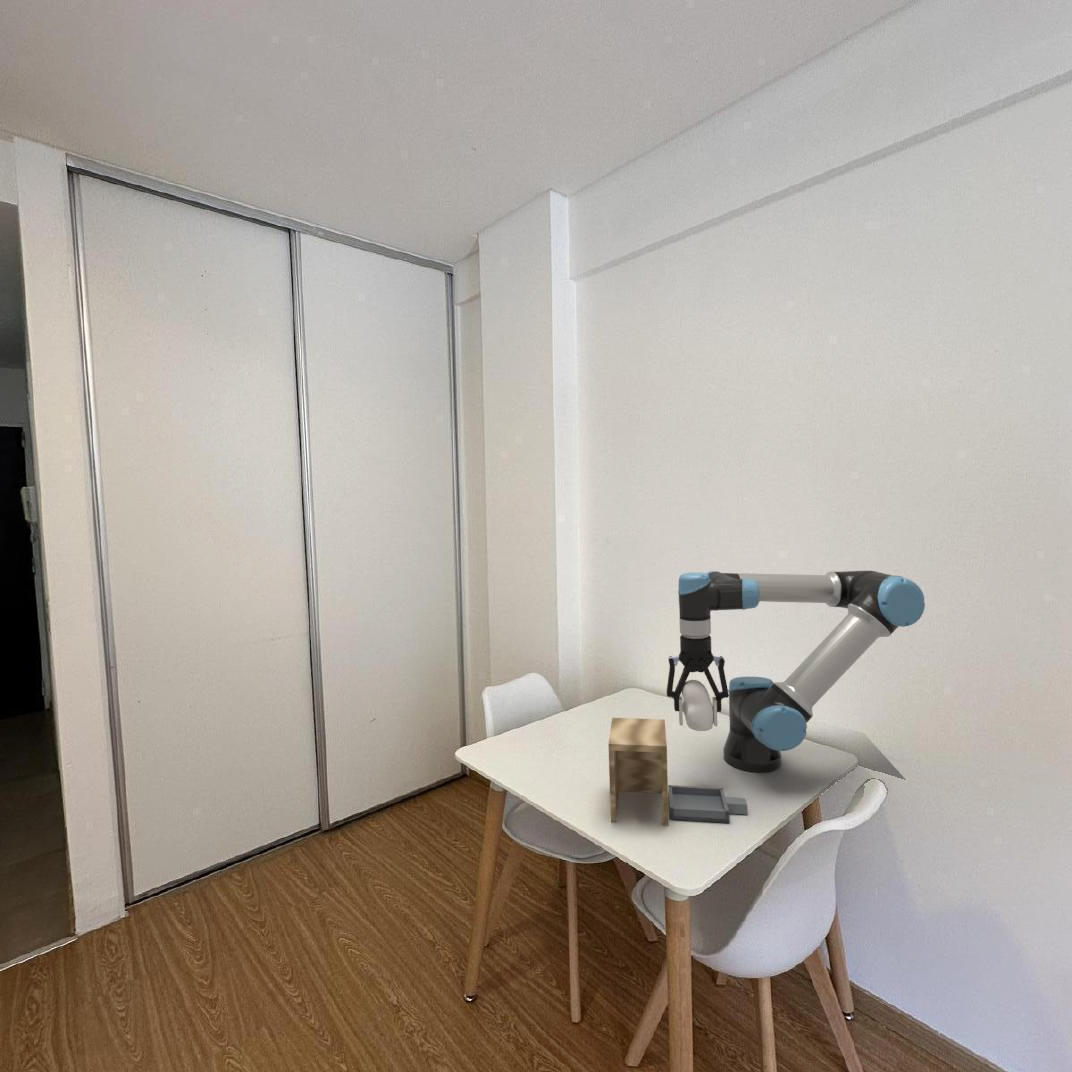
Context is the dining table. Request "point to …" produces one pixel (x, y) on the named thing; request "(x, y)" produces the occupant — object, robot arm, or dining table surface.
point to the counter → (638, 760)
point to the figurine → (697, 706)
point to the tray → (703, 804)
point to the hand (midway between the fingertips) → (698, 723)
